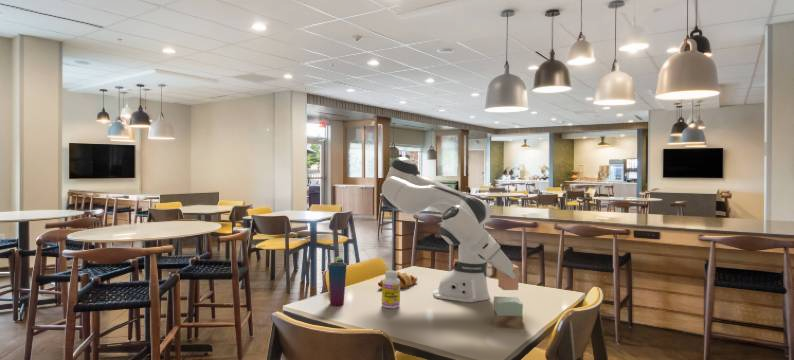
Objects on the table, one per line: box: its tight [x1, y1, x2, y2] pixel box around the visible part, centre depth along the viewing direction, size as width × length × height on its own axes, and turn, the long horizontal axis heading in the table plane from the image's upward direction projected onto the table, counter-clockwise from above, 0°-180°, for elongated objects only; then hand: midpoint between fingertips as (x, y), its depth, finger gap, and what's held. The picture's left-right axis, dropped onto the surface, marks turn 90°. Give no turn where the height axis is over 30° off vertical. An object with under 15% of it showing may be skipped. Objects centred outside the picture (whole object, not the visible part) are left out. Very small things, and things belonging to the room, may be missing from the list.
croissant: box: [377, 271, 418, 289], centre depth 195 cm, size 21×10×8 cm, turn 129°
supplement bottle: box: [381, 269, 401, 309], centre depth 165 cm, size 7×7×13 cm
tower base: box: [493, 309, 524, 330], centre depth 149 cm, size 9×9×4 cm
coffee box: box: [334, 256, 344, 263], centre depth 188 cm, size 8×3×13 cm, turn 15°
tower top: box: [493, 295, 524, 317], centre depth 149 cm, size 8×8×4 cm
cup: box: [327, 261, 348, 307], centre depth 167 cm, size 7×7×15 cm
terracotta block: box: [497, 263, 520, 291], centre depth 148 cm, size 5×5×8 cm
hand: (510, 275), depth 148 cm, fingers closed on terracotta block, 5 cm apart
